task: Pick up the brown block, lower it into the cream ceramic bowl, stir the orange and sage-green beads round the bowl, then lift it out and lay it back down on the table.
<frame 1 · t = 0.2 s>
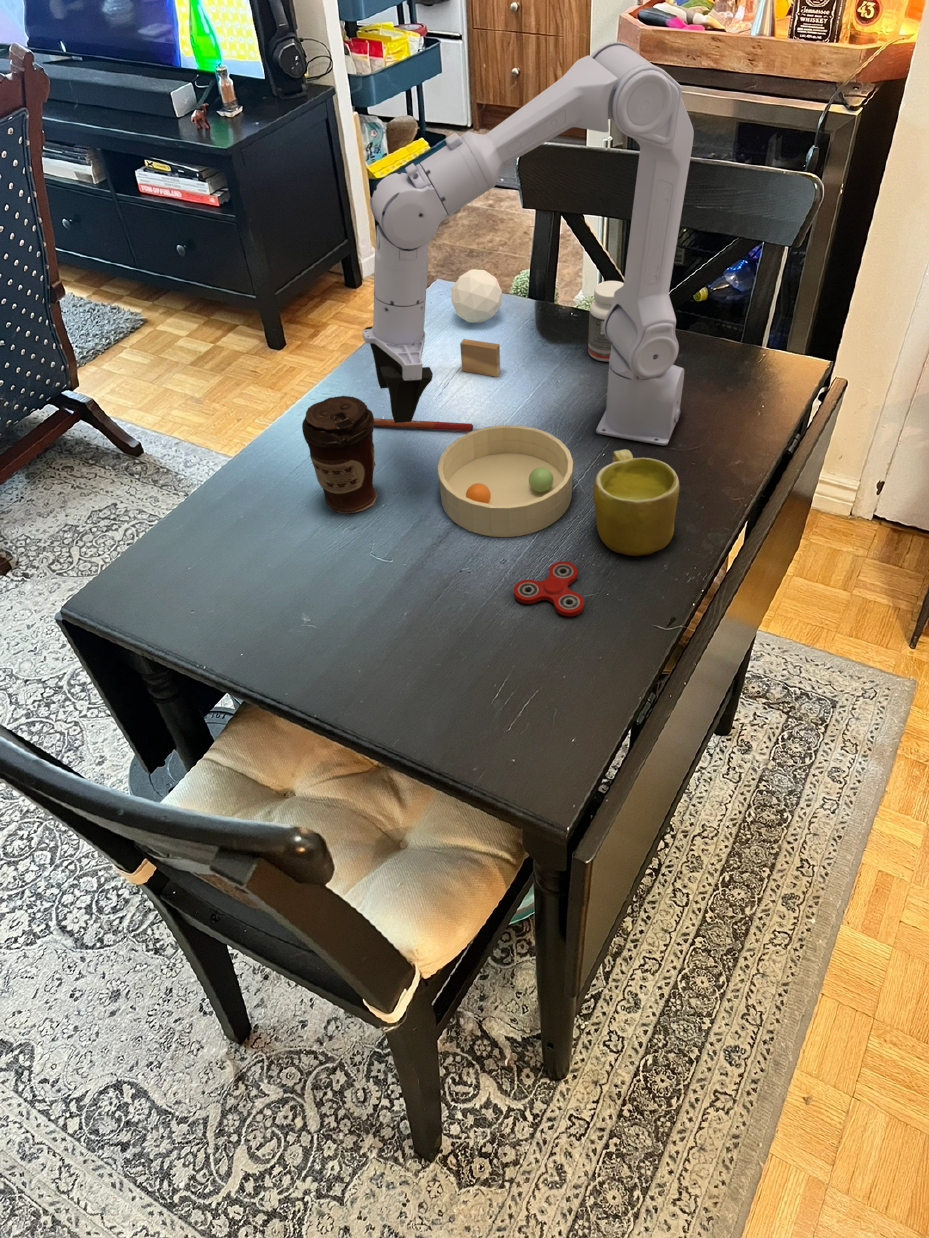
hand: (395, 403, 109), 10 cm above the table, tool pointing down, fingers open, 7 cm apart
fidget spinner: (555, 590, 101), on the table
green bead: (540, 479, 111), point 2 cm above the table, touching bowl
coffee cup: (351, 500, 114), on the table
orange bead: (478, 495, 110), point 2 cm above the table, touching bowl
brown block: (481, 371, 132), on the table
pencil: (404, 428, 124), on the table
bowl: (506, 493, 113), on the table
ball: (477, 320, 143), on the table
mug: (630, 526, 108), on the table
pill bottle: (607, 354, 134), on the table
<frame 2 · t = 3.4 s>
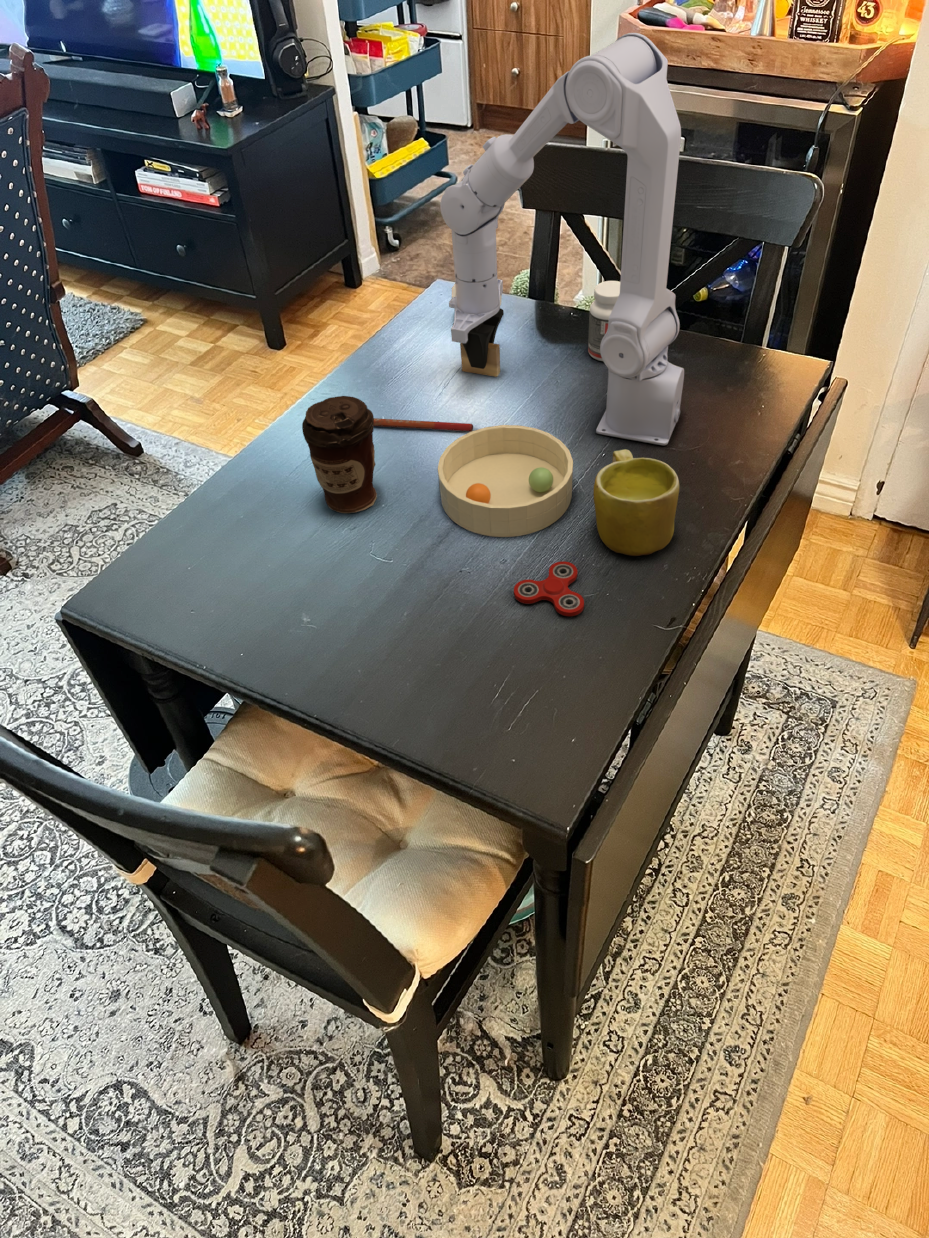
hand: (480, 363, 131), 1 cm above the table, tool pointing down, fingers closed on brown block, 1 cm apart
brown block: (481, 371, 132), on the table, touching gripper
everything else where it was.
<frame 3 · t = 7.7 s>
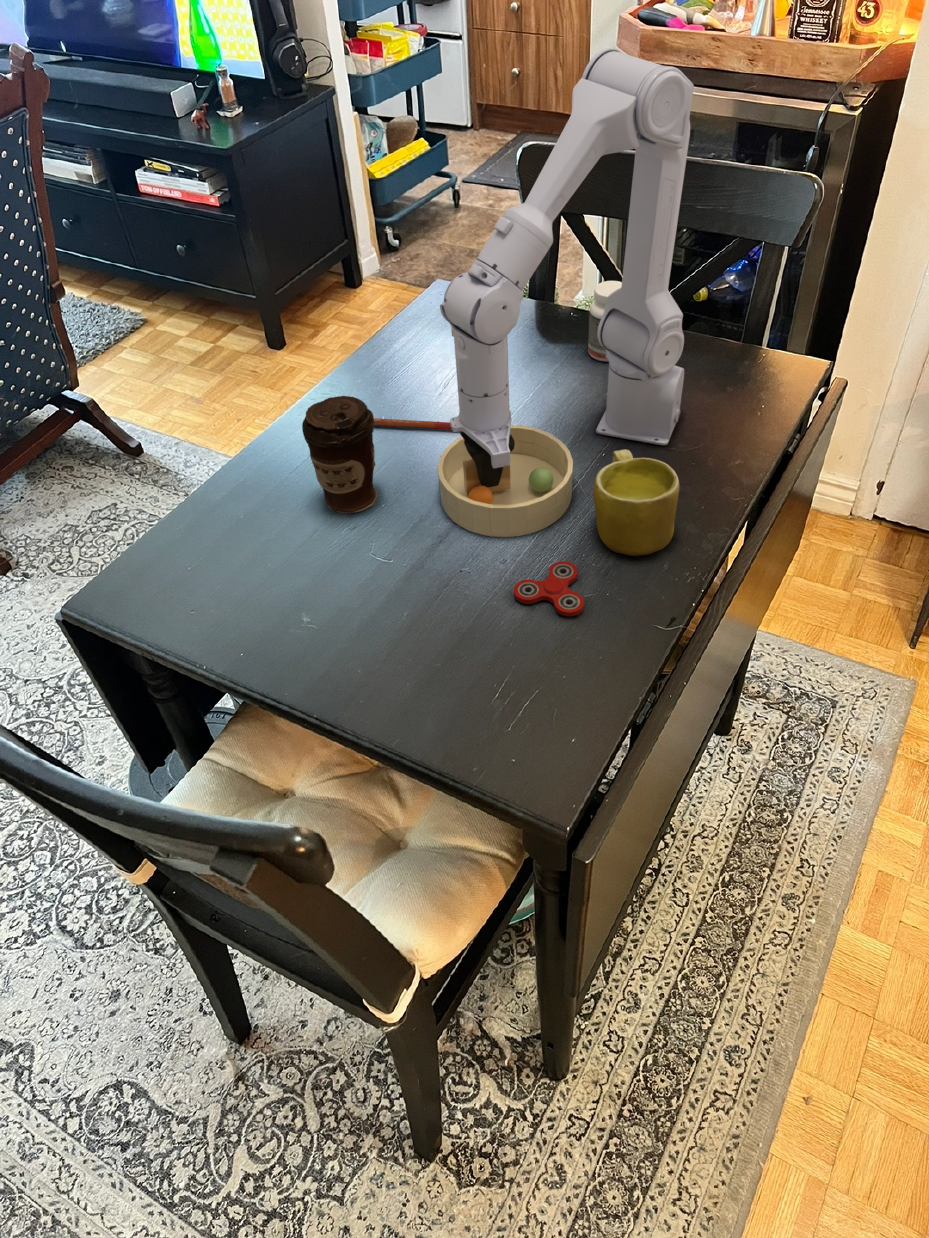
hand: (488, 480, 111), 2 cm above the table, tool pointing down, fingers closed on brown block
orange bead: (480, 498, 109), point 2 cm above the table, tilted 12°, touching bowl, gripper
brown block: (487, 489, 112), point 1 cm above the table, touching gripper
everything else where it was.
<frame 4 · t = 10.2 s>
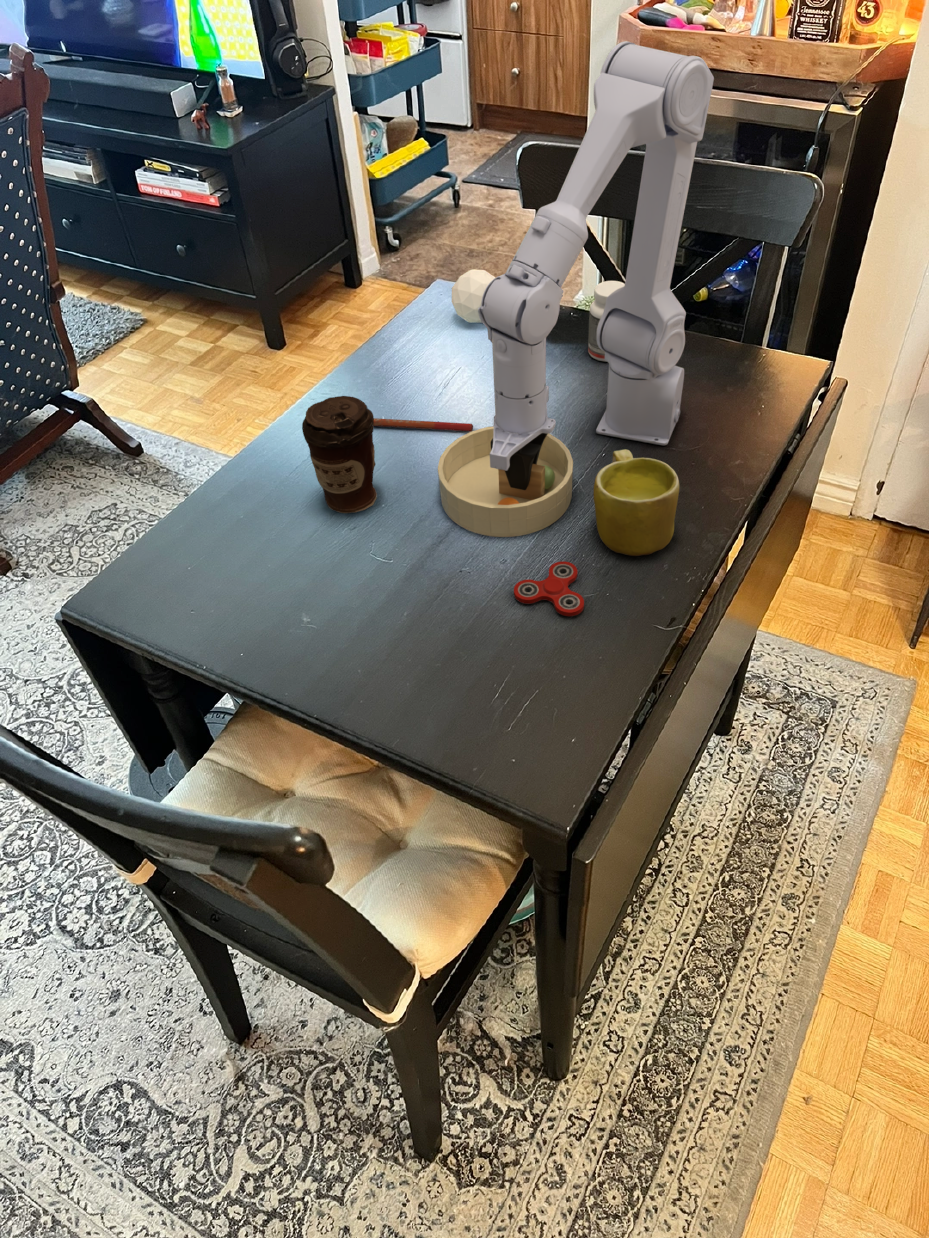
hand: (521, 482, 110), 2 cm above the table, tool pointing down, fingers closed on brown block
green bead: (542, 477, 111), point 2 cm above the table, tilted 18°, touching bowl, gripper
orange bead: (508, 510, 108), point 2 cm above the table, tilted 84°, touching bowl
brown block: (521, 494, 112), point 1 cm above the table, touching gripper
everything else where it was.
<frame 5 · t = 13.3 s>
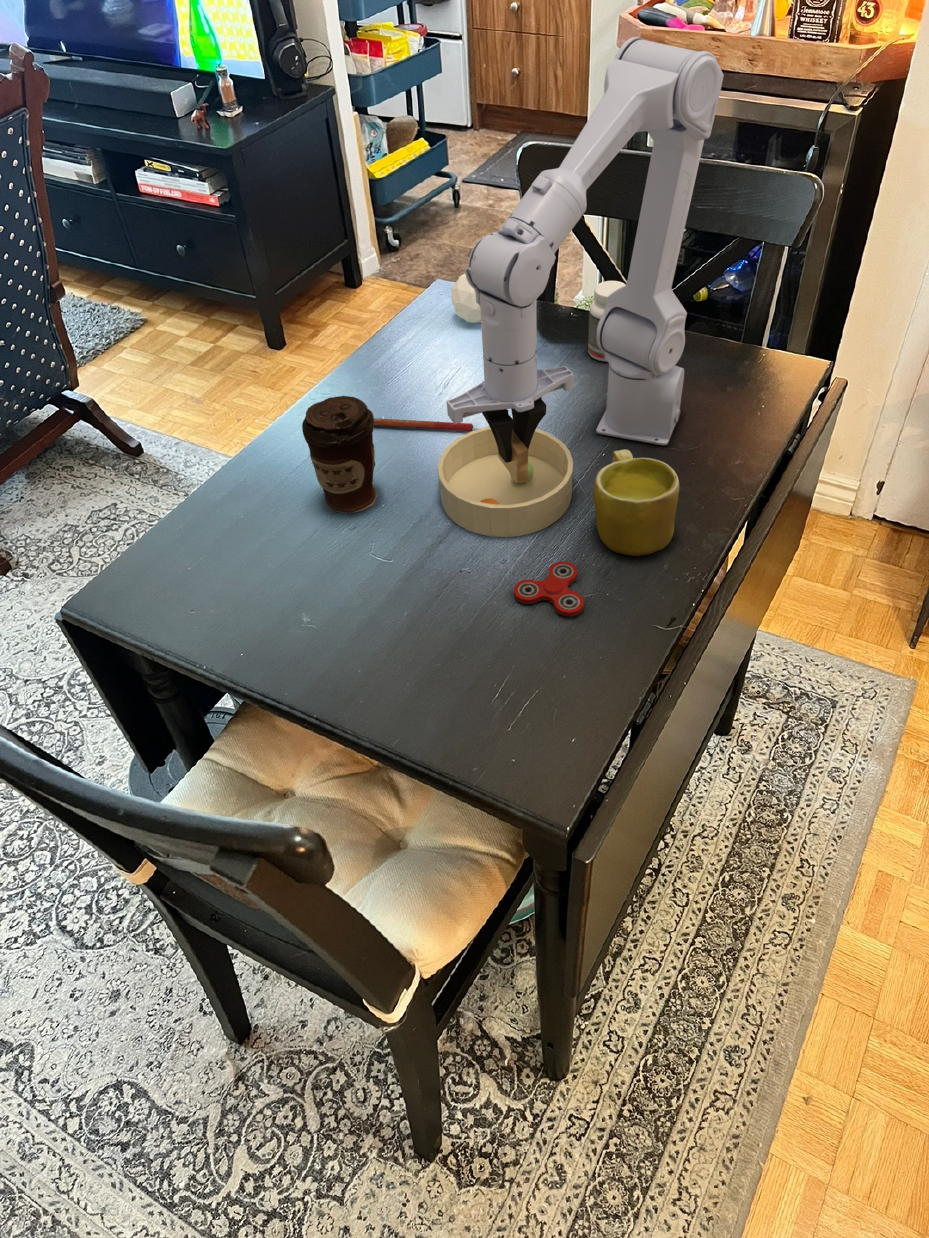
hand: (512, 455, 106), 7 cm above the table, tool pointing down, fingers closed on brown block
green bead: (521, 471, 113), point 2 cm above the table, tilted 56°, touching bowl
orange bead: (488, 511, 108), point 2 cm above the table, tilted 132°, touching bowl
brown block: (513, 468, 108), point 5 cm above the table, touching gripper
everything else where it was.
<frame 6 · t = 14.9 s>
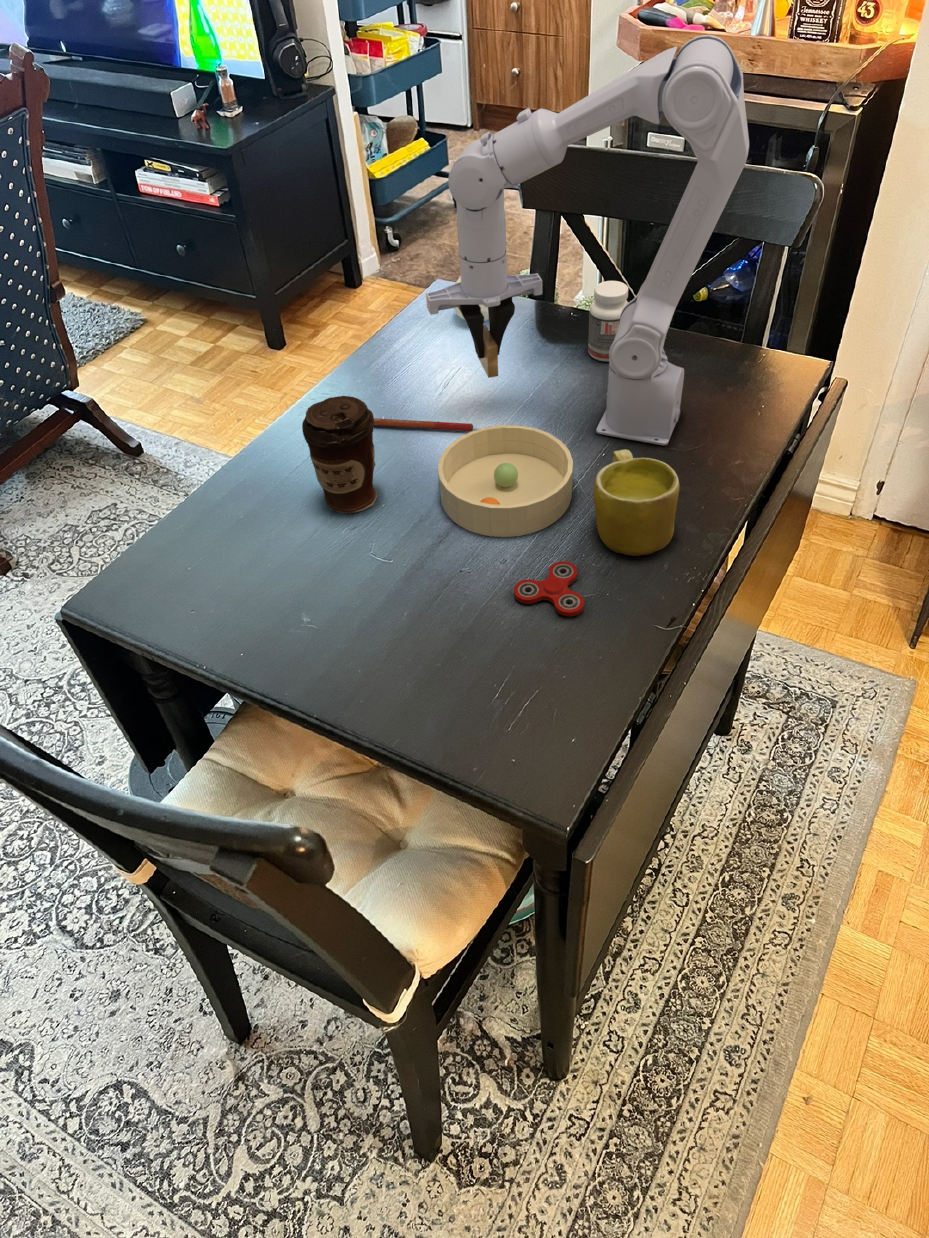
hand: (487, 353, 120), 8 cm above the table, tool pointing down, fingers closed on brown block
green bead: (505, 475, 112), point 2 cm above the table, tilted 101°, touching bowl
orange bead: (489, 510, 108), point 2 cm above the table, tilted 124°, touching bowl
brown block: (487, 366, 121), point 6 cm above the table, touching gripper
everything else where it was.
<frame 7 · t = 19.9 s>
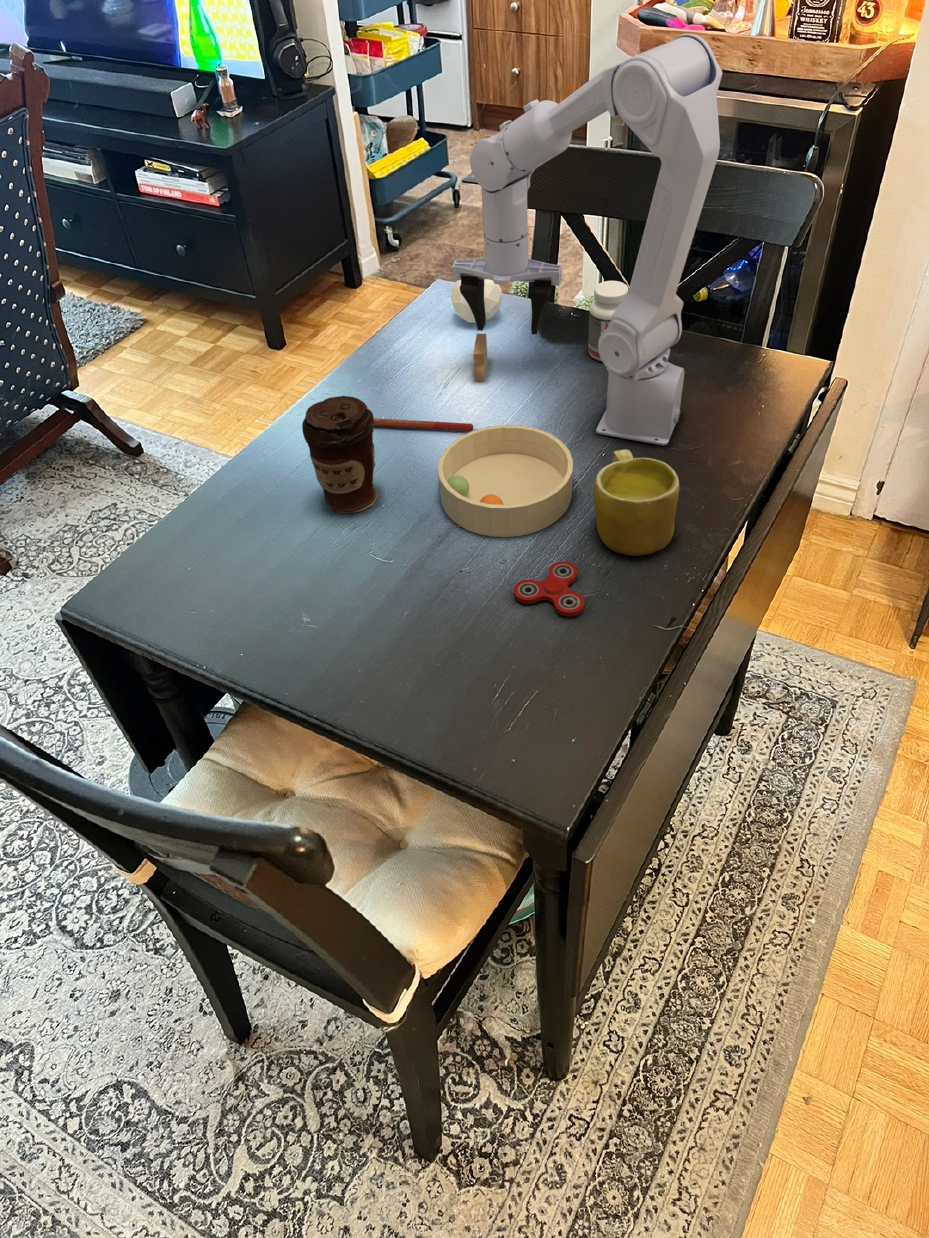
hand: (508, 329, 128), 6 cm above the table, tool pointing down, fingers open, 7 cm apart
green bead: (457, 487, 111), point 2 cm above the table, tilted 51°, touching bowl
orange bead: (491, 507, 108), point 2 cm above the table, tilted 102°, touching bowl
brown block: (481, 371, 132), on the table
everything else where it was.
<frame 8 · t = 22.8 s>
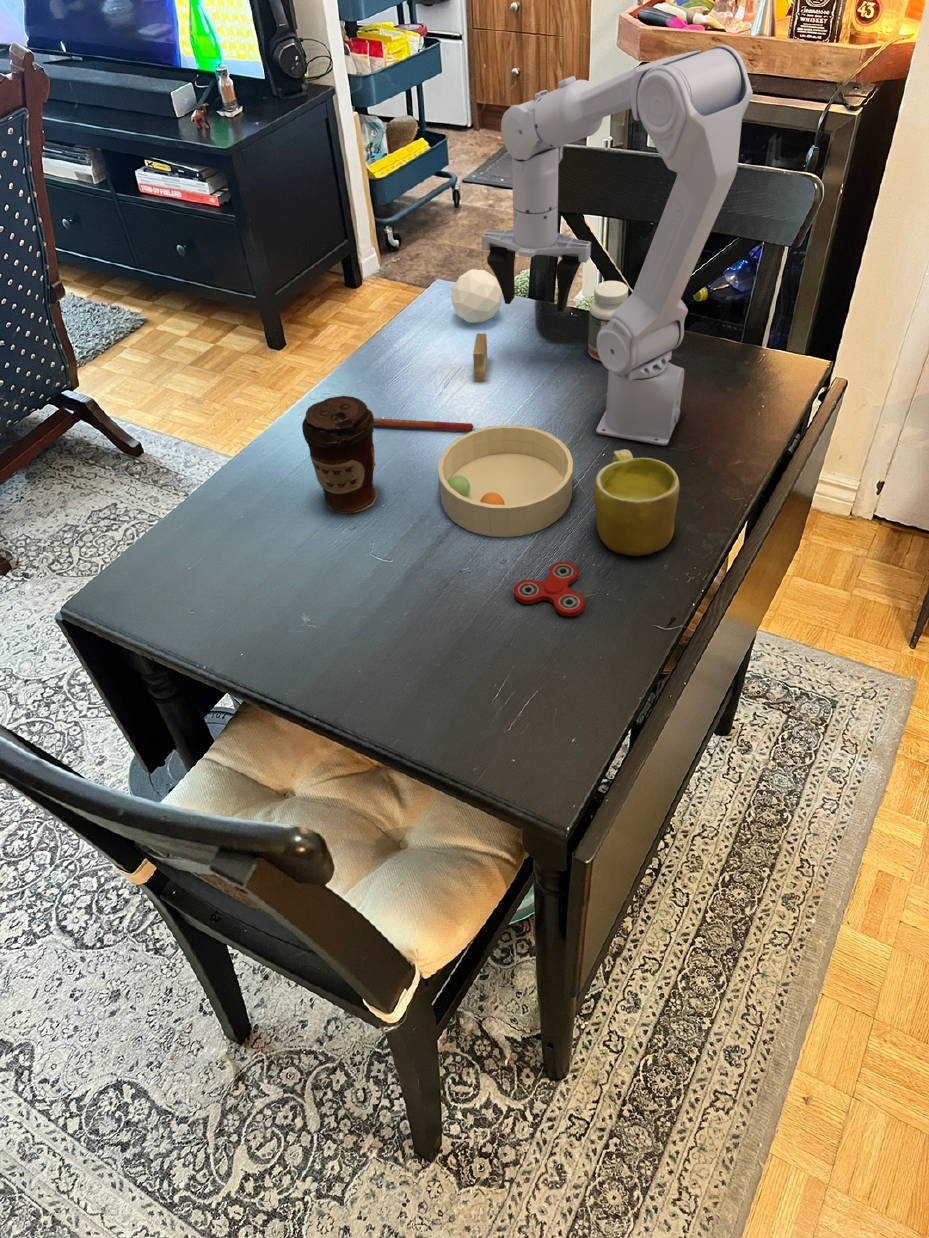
hand: (535, 304, 126), 9 cm above the table, tool pointing down, fingers open, 7 cm apart
orange bead: (492, 505, 108), point 2 cm above the table, tilted 89°, touching bowl
everything else where it was.
at the end: orange bead moved 2.5 cm from its start; green bead moved 10.2 cm from its start; brown block inside the target area (0.1 cm from its centre), on the table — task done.
